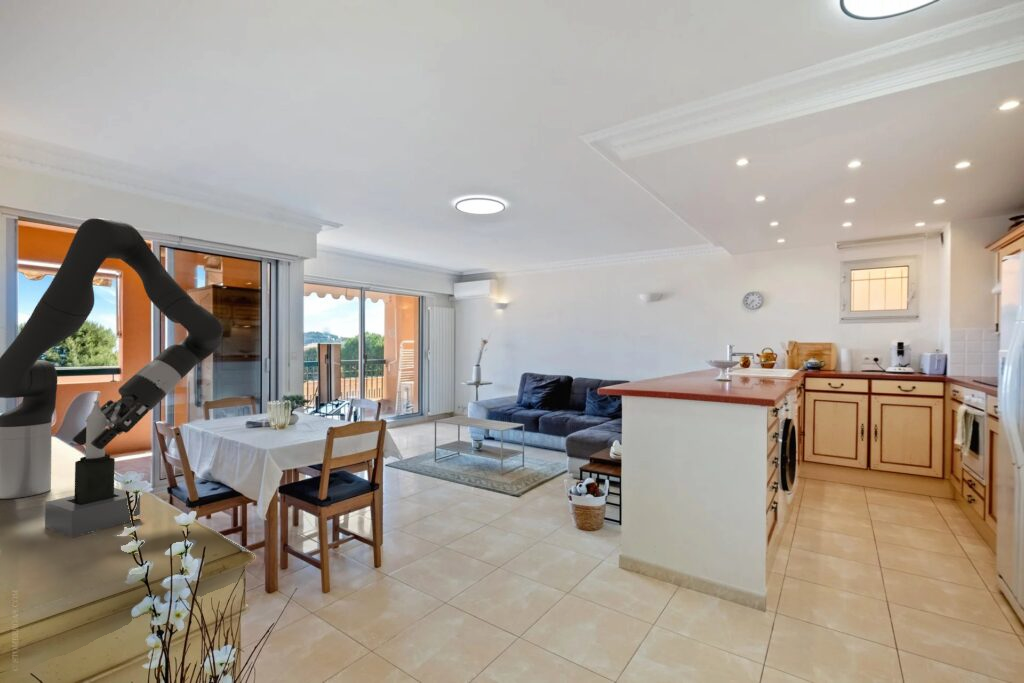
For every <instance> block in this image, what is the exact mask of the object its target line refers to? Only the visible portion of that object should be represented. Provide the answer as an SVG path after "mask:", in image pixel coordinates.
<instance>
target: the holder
mask: <svg viewBox="0 0 1024 683" xmlns="http://www.w3.org/2000/svg"><path fill="white" fill-rule="evenodd" d="M126 491H127V490H124V489H119V488H115V487H114V498H110V499H106V500H101V501H97V502H93V503H88V504H84V505H78V504H75V503H74V496H75V495H71V496H66V497H61V498H57V499H52V500H48V501H45V502H44V503H45V506H44V528H46V527H47V529H49V528H50V529H49V530H51V529H52V530H51V531H54V532H56V531H57V532H56V533H58V534H61V533H62V534H61V535H63V534H65V535H64V536H66V535H67V536H66V537H68V536H70V537H69V538H71V537H72V538H75V537H74V536H76V537H79V536H82V535H81V534H83V535H85V533H87V534H89V533H88V532H90V533H93V532H92V531H94V532H97V530H98V531H101V530H104V529H108V528H112V527H115V526H119V525H122V523H123V524H126V523H130V522H131V521H130V513H129V509H128V505H127V497H126ZM139 514H140V515H141V494H139V498H138V502H137V507H136V509H135V511H134V516H137V515H139ZM124 522H126V523H124ZM78 535H79V536H78Z"/></svg>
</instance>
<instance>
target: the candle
mask: <svg viewBox="0 0 1024 683" xmlns="http://www.w3.org/2000/svg"><path fill="white" fill-rule="evenodd" d="M100 408H101V407H100V401H99V400H94V401H93V407H92V409H91V411H90V413H89V414H88V415H87V417H86V420H87V422H86V425H85V427H86V443H85V456H82V457H80V459H79V460H76V461H75V463H74V495H73V496H74V503H75V504H78V505H84V504H88V503H93V502H97V501H101V500H106V499H110V498H114V488H115V463H116V462H115V460H116V459H115V457H114V458H113V457H111V455H110V454H107V453H106V446H105V447H104V448H103V449H98V448H96V447H94V446H93V445H92V444H91V442H92V441H93V440H94V439H95V438H96V437H97V436H98V435H100V434H101V433H102V432H103V431H104V430H105V429H106V427H105V425H106V417H105V415H104V414H103V413H102V412H101V409H100Z"/></svg>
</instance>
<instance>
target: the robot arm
mask: <svg viewBox="0 0 1024 683" xmlns="http://www.w3.org/2000/svg"><path fill="white" fill-rule="evenodd" d="M106 259H112V260H113V259H115V260H121V261H122V262H124V263H125V264H126V265H128V266H129V267H130V268H132V269H133V270H134V271H135V272H136V274H137V275H138V276H139V278H140V280H141V282H142V285H143V288H144V292H145V293H146V296H147V297H148V299H149V301H150V302H151V303H152V304H153V305H154V306H155V307H156V308H157V309H158V310H159V311H160V312H161V313H162V314H163V315H164V316H165V317H166V319H168V320H169V321H170V322H172V323H175V324H180V325H181V326H182V327H183V328H184V329H185V330H186V331H187V333H188V334H187V336H186V337H185V338H184V339H183V340H182V341H180V342H179V343H178V344H176V343H175V344H172V345H169V346H168V347H167V348H165V349H164V350H163V351H162V352H160V354H158V355H157V356H156V357H155V358H154V359H152V360H151V361H150V362H148V363H147V364H145V365H144V366H143V367H142V368H140V370H138V371H137V372H136V373H134V375H133V376H131V378H129V379H128V380H127V381H126V382H125V383H123V385H121V386H120V387H119V388H118V394H119V395H121V396H120V397H121V398H120V399H118V400H117V401H113V400H112V399H110V400H108V401H107V402H105V404H103V405H101V407H100V409H101V412H102V413H103V414H104V415H105V417H106V425H105V430H104V431H103V432H102V433H101V434H100V435H98V436H97V437H96V438H95V439H94V440H93V441H92V442H91V444H92V445H93V446H94V447H96V448H98V449H103V448H104V447H105V448H106V446H108V444H110V442H111V441H113V440H114V439H115V438H116V437H117V436H118V435H119V436H120V435H121V434H123V433H124V434H127V433H129V432H130V431H131V430H132V429H133V428H134V427H135V425H137V424H138V423H139V422H140V421H141V419H143V418H144V416H146V415H147V414H148V413H149V411H151V410H153V409H154V408H155V407H156V406H157V405H158V404H159V403H160V402H161V401H162V400H163V399H164V398H165V397H167V395H169V393H170V392H171V391H172V390H174V389H175V387H176V386H178V384H179V383H180V381H181V380H182V379H183V378H185V377H186V375H188V373H190V372H191V370H192V369H193V368H194V367H196V365H198V364H199V363H201V362H202V361H205V359H207V358H208V357H210V356H211V355H212V354H213V353H214V352H215V351H217V349H218V348H219V347H220V345H221V343H222V339H223V334H224V328H223V324H222V323H221V321H220V320H219V319H218V318H217V317H216V316H215V315H214V314H213V313H211V312H210V311H209V310H207V309H206V308H204V307H203V306H202V305H200V304H199V303H197V302H196V301H195V300H194V299H193V298H192V297H191V295H190V294H188V292H186V291H185V290H184V289H183V287H182V286H180V285H179V283H177V281H176V280H175V279H174V278H173V277H172V276H171V275H170V273H169V272H168V271H167V270H166V269H165V267H164V266H163V264H162V262H160V260H159V259H158V258H157V256H156V255H155V254H154V252H153V250H152V248H150V247H149V245H148V243H147V242H146V240H145V239H144V237H143V235H141V234H140V232H139V230H137V229H136V228H135V227H134V226H133V225H131V224H129V223H127V222H123V221H119V220H115V219H108V218H103V217H91V218H88V219H86V220H84V221H83V222H82V223H81V224H80V226H78V228H77V230H76V232H75V234H74V236H73V239H72V241H71V243H70V245H69V248H68V250H67V253H66V255H65V257H64V259H63V261H62V264H61V265H60V267H59V269H58V270H57V272H56V273H55V275H54V277H53V279H52V281H51V282H50V284H49V286H48V287H47V289H46V290H45V292H44V293H43V294H42V296H41V298H40V299H39V301H38V302H37V304H36V306H35V307H34V309H33V311H32V313H31V315H30V316H29V318H28V320H27V321H26V323H25V324H24V325H23V328H22V329H21V331H20V332H19V333H18V334H17V336H16V337H15V339H14V340H13V341H12V342H11V344H10V345H9V346H8V348H7V349H6V350H5V351H4V352H3V354H2V355H1V356H0V398H1V399H2V398H3V399H16V398H18V399H19V398H22V401H21V403H20V404H18V405H17V406H16V407H14V408H12V409H11V410H8V411H4V412H2V414H0V499H6V500H7V499H18V498H24V497H25V498H26V497H31V496H37V495H40V494H44V493H46V492H48V491H51V489H52V421H53V420H52V419H53V414H54V413H55V411H56V406H57V405H56V402H57V392H58V391H57V390H58V373H57V372H58V371H57V369H56V368H55V365H54V364H53V363H52V362H50V361H49V360H44V359H40V357H41V356H43V354H45V353H47V352H48V351H49V350H51V349H52V348H53V347H55V346H57V345H59V344H60V343H62V342H63V341H65V340H67V339H68V338H70V337H71V336H73V335H74V334H75V333H77V332H78V331H79V330H80V329H81V328H82V327H83V326H84V324H85V322H86V321H87V319H88V318H89V316H90V314H91V313H92V311H93V308H94V305H95V291H94V278H95V276H96V274H97V272H98V271H99V269H100V267H101V265H102V264H103V263H104V262H105V260H106ZM85 422H86V423H87V419H85ZM106 427H107V428H106ZM71 441H72V442H74V443H75V444H77V445H78V446H84V445H86V426H85V427H84V428H82V429H81V430H80V431H79V432H78V433H77V434H76V435H74V436H73V438H72V440H71Z"/></svg>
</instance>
